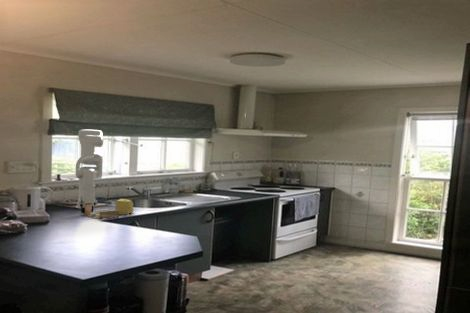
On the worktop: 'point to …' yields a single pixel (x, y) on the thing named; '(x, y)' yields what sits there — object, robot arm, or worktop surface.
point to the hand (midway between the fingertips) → (87, 212)
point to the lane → (104, 214)
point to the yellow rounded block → (124, 206)
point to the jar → (88, 208)
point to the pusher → (101, 211)
